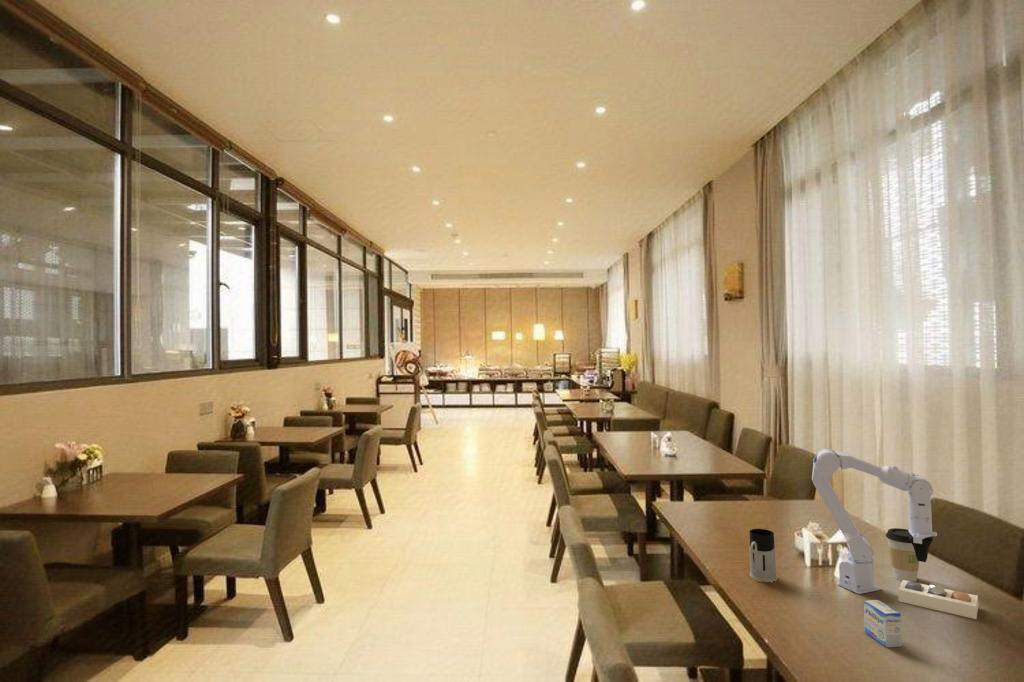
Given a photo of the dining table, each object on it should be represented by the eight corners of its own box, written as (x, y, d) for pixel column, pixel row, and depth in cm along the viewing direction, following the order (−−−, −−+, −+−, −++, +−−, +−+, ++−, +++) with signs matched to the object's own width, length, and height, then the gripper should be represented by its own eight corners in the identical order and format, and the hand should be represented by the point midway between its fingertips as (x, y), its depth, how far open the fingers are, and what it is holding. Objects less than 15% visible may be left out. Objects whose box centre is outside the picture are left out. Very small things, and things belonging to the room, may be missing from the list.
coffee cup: (930, 585, 178) (928, 537, 178) (895, 583, 180) (893, 536, 180) (914, 573, 188) (912, 528, 188) (881, 571, 190) (880, 527, 190)
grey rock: (929, 596, 165) (928, 586, 165) (930, 592, 168) (930, 582, 168) (944, 599, 163) (944, 589, 163) (945, 595, 165) (945, 585, 165)
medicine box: (864, 632, 150) (863, 600, 150) (879, 631, 151) (878, 599, 151) (886, 648, 142) (885, 613, 142) (902, 647, 143) (901, 612, 143)
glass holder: (781, 576, 188) (779, 531, 188) (766, 590, 178) (764, 542, 178) (754, 570, 194) (753, 526, 194) (738, 583, 184) (737, 537, 184)
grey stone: (906, 594, 169) (906, 584, 169) (908, 590, 171) (907, 580, 171) (921, 597, 166) (920, 587, 166) (922, 593, 169) (922, 583, 169)
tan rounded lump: (952, 604, 161) (952, 594, 161) (954, 600, 164) (953, 590, 164) (968, 608, 159) (968, 597, 159) (969, 603, 161) (969, 593, 162)
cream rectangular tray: (898, 601, 168) (898, 589, 168) (903, 591, 174) (902, 579, 174) (976, 619, 156) (975, 606, 156) (978, 607, 162) (977, 595, 162)
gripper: (933, 524, 164) (935, 571, 163) (938, 513, 174) (940, 557, 174) (904, 520, 168) (906, 565, 168) (911, 509, 179) (913, 552, 179)
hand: (921, 560), depth 172 cm, fingers closed
